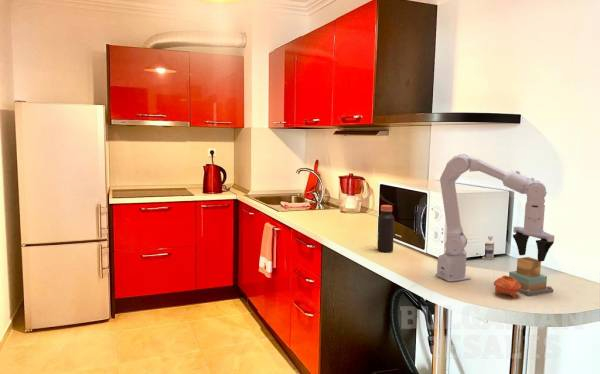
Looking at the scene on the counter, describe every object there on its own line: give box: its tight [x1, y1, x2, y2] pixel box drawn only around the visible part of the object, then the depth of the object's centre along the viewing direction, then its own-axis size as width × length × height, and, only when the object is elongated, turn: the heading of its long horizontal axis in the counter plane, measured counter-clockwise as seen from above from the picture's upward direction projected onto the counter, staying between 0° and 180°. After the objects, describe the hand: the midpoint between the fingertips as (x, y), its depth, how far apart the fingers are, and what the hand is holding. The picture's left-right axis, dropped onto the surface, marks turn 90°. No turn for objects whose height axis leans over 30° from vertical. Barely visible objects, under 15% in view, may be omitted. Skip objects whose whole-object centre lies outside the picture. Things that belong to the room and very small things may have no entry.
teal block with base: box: [508, 270, 554, 297], centre depth 153 cm, size 11×11×5 cm
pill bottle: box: [481, 235, 495, 260], centre depth 189 cm, size 5×5×10 cm
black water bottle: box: [377, 204, 395, 253], centre depth 198 cm, size 7×7×20 cm
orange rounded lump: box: [493, 275, 521, 299], centre depth 147 cm, size 8×8×7 cm
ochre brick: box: [516, 256, 542, 277], centre depth 152 cm, size 5×5×5 cm
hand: (531, 258), depth 152 cm, fingers open, 7 cm apart
